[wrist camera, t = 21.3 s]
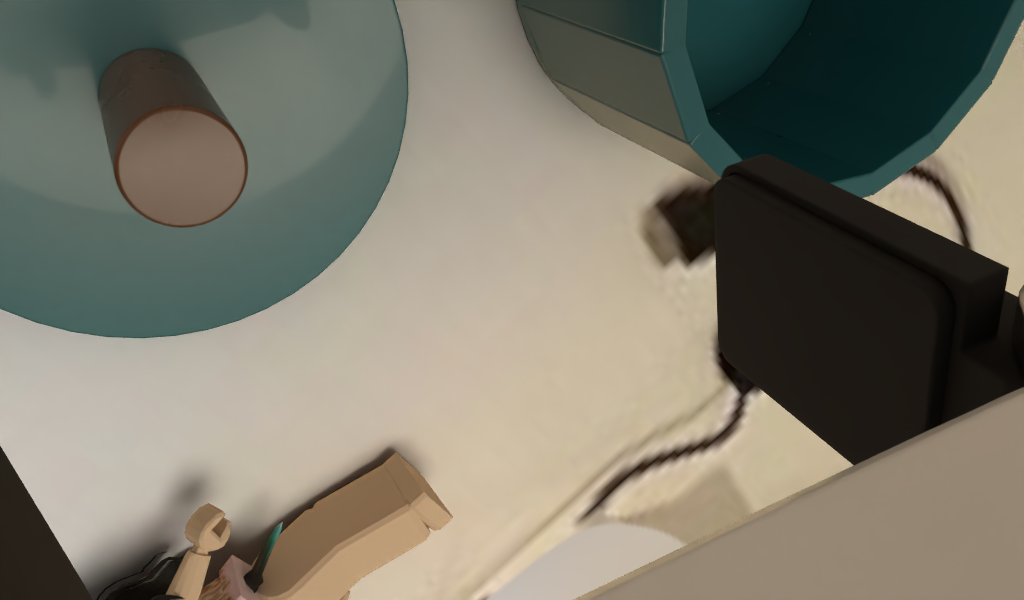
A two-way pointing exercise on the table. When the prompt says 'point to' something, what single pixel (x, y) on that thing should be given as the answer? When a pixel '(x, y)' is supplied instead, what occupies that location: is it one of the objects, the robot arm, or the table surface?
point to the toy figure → (306, 544)
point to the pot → (777, 77)
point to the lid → (188, 154)
